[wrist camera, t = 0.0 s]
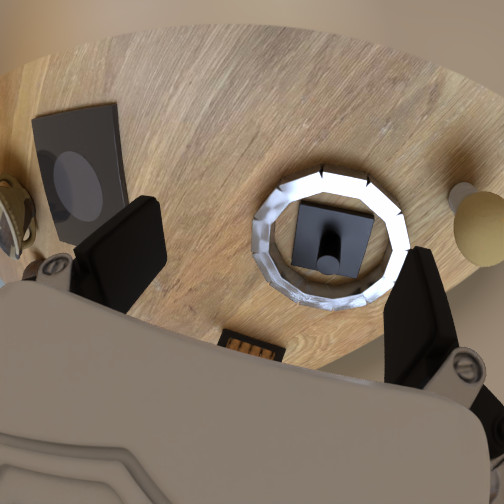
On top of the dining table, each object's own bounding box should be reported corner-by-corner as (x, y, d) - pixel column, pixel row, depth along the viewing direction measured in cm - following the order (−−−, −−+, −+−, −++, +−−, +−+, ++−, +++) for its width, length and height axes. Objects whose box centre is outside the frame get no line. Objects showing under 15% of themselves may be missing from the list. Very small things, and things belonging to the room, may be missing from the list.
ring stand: (300, 200, 30) (293, 222, 26) (373, 215, 29) (377, 239, 25) (292, 260, 35) (283, 287, 31) (356, 273, 33) (355, 302, 29)
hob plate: (35, 117, 33) (30, 119, 32) (117, 103, 29) (111, 105, 28) (63, 238, 47) (59, 241, 47) (140, 260, 43) (136, 264, 42)
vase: (46, 255, 54) (21, 278, 47) (59, 279, 57) (36, 303, 50) (34, 254, 56) (11, 275, 49) (46, 277, 60) (24, 298, 53)
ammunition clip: (222, 334, 48) (194, 393, 38) (223, 328, 46) (194, 388, 37) (283, 354, 46) (264, 417, 37) (286, 348, 45) (266, 413, 36)
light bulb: (489, 212, 23) (528, 266, 16) (443, 230, 27) (470, 290, 19) (477, 159, 21) (524, 200, 13) (428, 179, 24) (459, 228, 17)
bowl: (0, 168, 43) (-31, 187, 36) (33, 156, 38) (-7, 179, 31) (23, 234, 53) (-3, 257, 46) (61, 240, 48) (28, 268, 40)
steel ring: (262, 153, 28) (254, 160, 26) (423, 186, 25) (429, 196, 23) (254, 280, 38) (248, 293, 36) (379, 306, 35) (380, 320, 33)
